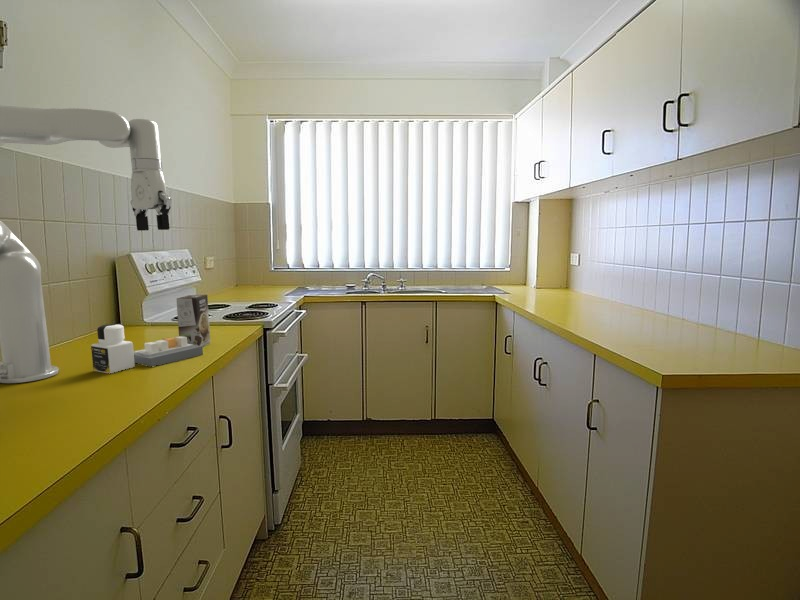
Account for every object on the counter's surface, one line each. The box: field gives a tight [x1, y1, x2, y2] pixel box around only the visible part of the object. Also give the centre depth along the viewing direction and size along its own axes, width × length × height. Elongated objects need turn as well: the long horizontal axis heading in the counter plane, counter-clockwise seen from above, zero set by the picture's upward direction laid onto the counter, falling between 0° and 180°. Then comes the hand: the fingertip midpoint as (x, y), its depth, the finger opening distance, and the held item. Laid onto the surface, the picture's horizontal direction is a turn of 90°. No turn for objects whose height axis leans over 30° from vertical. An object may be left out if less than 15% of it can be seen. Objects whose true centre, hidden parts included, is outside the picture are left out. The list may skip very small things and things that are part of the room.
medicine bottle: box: [90, 323, 136, 375], centre depth 130 cm, size 7×7×12 cm
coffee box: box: [176, 294, 211, 348], centre depth 156 cm, size 9×6×16 cm
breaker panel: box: [133, 335, 204, 368], centre depth 142 cm, size 16×12×5 cm
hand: (153, 230), depth 138 cm, fingers open, 9 cm apart
